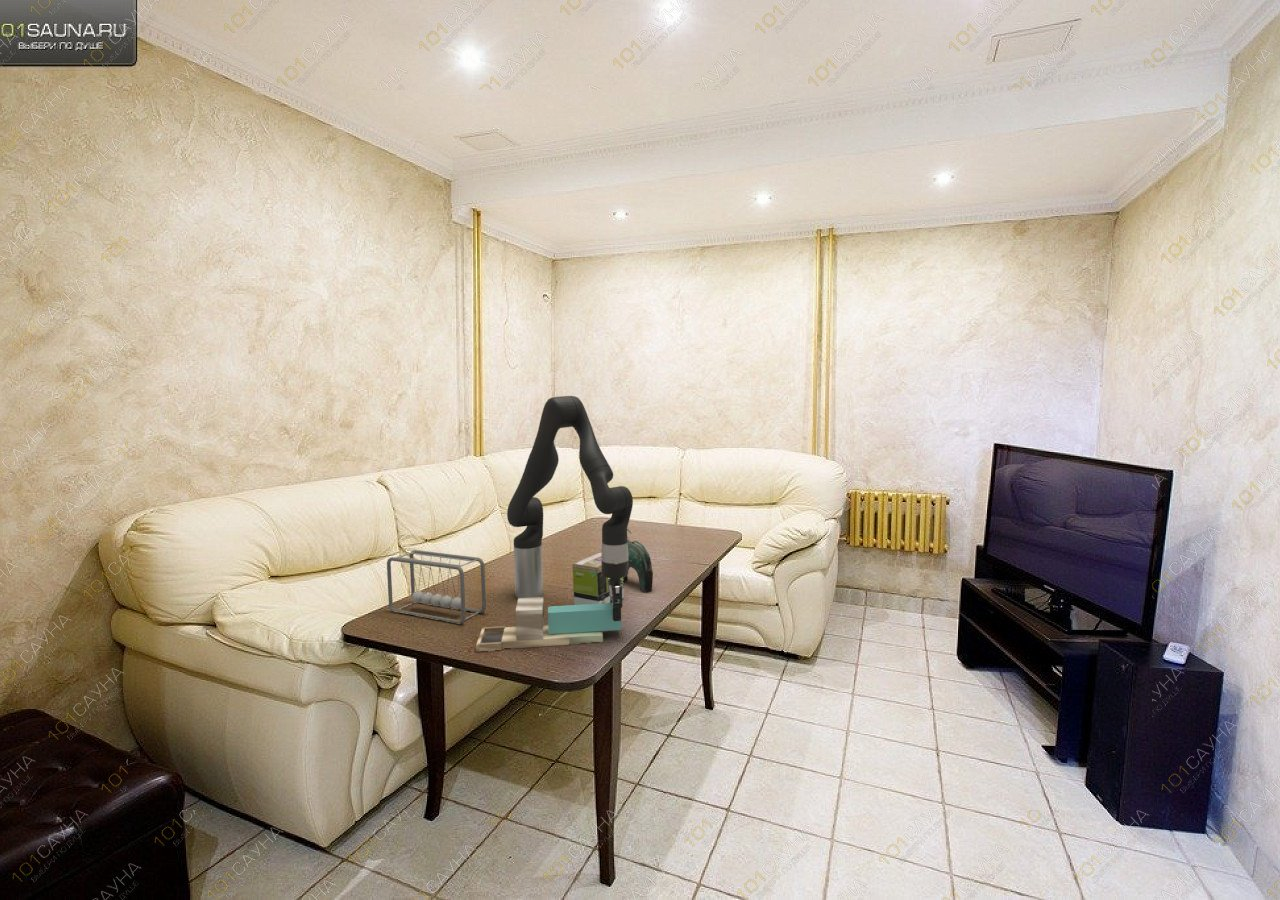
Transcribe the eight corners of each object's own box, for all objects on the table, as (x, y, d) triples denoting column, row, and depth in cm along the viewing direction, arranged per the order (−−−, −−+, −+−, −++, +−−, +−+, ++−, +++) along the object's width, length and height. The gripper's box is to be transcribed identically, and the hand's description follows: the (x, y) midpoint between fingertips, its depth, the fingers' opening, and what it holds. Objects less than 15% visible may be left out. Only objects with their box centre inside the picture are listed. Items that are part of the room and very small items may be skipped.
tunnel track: (482, 634, 165) (481, 599, 164) (600, 626, 169) (599, 592, 168) (476, 652, 153) (475, 614, 152) (603, 643, 158) (602, 607, 157)
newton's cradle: (486, 614, 181) (484, 557, 179) (464, 626, 171) (461, 567, 170) (413, 601, 193) (411, 548, 192) (388, 612, 184) (385, 556, 182)
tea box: (599, 593, 198) (599, 551, 197) (624, 598, 193) (624, 555, 192) (572, 607, 186) (571, 562, 184) (598, 613, 180) (597, 566, 179)
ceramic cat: (609, 580, 213) (608, 526, 211) (624, 577, 217) (623, 524, 215) (643, 594, 197) (642, 536, 195) (657, 590, 201) (657, 533, 199)
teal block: (548, 627, 164) (548, 606, 163) (619, 622, 167) (619, 602, 166) (548, 634, 159) (547, 613, 158) (621, 629, 162) (621, 608, 161)
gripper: (599, 552, 169) (600, 606, 170) (603, 566, 155) (604, 625, 156) (625, 551, 170) (625, 605, 171) (631, 565, 156) (631, 623, 157)
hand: (615, 614), depth 164 cm, fingers open, 8 cm apart
